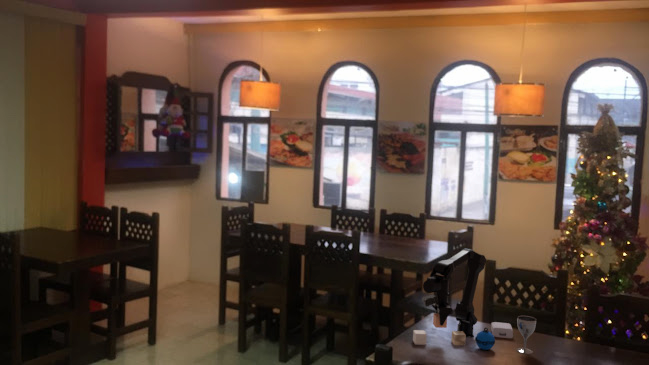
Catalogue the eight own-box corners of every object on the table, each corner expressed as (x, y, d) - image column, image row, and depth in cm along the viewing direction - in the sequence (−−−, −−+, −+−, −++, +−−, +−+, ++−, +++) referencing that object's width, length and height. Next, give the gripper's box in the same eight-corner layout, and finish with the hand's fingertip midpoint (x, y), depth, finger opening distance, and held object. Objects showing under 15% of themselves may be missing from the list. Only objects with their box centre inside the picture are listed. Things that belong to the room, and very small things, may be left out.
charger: (508, 329, 303) (512, 338, 289) (489, 327, 305) (492, 337, 290) (509, 319, 303) (513, 329, 288) (490, 317, 305) (493, 327, 290)
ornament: (494, 347, 275) (495, 326, 274) (494, 354, 267) (495, 331, 266) (474, 344, 278) (476, 323, 277) (474, 351, 269) (475, 329, 268)
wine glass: (533, 349, 275) (536, 317, 274) (533, 355, 267) (536, 322, 266) (515, 346, 278) (517, 314, 276) (514, 352, 270) (517, 319, 269)
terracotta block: (443, 324, 280) (444, 313, 279) (446, 327, 275) (447, 316, 274) (432, 323, 280) (433, 313, 279) (435, 327, 275) (436, 316, 274)
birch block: (461, 341, 281) (462, 331, 281) (465, 345, 276) (465, 334, 276) (451, 341, 281) (451, 331, 281) (454, 345, 276) (454, 334, 276)
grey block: (423, 340, 280) (424, 330, 280) (426, 344, 275) (426, 334, 275) (412, 340, 280) (413, 330, 279) (415, 344, 275) (415, 333, 274)
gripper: (420, 284, 285) (418, 316, 286) (429, 295, 266) (427, 329, 267) (443, 284, 285) (441, 317, 287) (454, 295, 267) (452, 330, 268)
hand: (439, 323), depth 277 cm, fingers closed on terracotta block, 5 cm apart
